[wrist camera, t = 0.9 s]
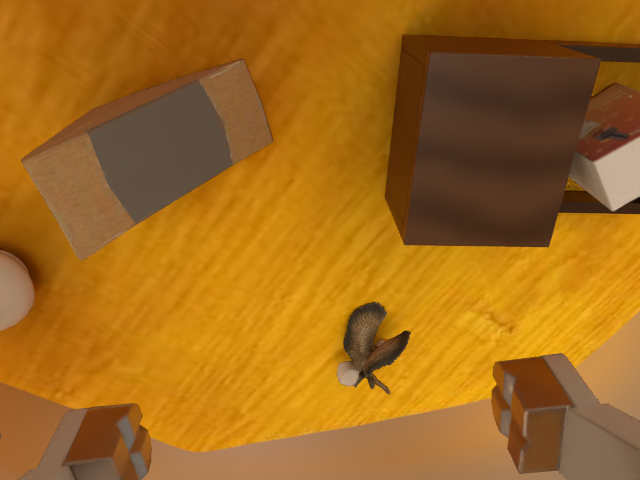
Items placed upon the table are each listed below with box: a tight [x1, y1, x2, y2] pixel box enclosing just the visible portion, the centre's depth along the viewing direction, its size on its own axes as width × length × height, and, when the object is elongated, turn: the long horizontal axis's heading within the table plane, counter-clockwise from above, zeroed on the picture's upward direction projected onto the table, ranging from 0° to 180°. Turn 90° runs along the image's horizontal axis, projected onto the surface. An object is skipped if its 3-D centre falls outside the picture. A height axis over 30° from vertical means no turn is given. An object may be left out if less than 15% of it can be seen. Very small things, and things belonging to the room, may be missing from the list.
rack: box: [385, 34, 640, 247], centre depth 48 cm, size 16×27×10 cm, turn 87°
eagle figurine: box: [337, 302, 411, 394], centre depth 61 cm, size 8×7×9 cm
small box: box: [569, 83, 640, 211], centre depth 48 cm, size 8×6×10 cm
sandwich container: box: [21, 59, 273, 260], centre depth 44 cm, size 9×15×15 cm, turn 107°
